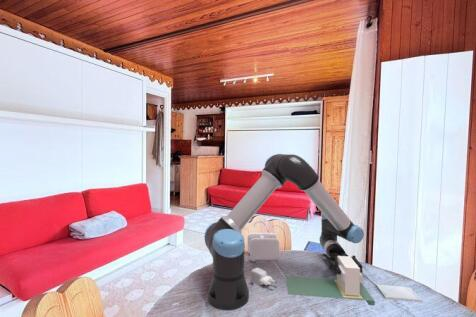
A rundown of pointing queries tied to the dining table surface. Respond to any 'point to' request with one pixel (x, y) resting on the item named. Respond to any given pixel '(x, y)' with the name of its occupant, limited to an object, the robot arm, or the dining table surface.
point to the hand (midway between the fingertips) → (352, 278)
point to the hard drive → (398, 293)
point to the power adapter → (261, 277)
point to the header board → (323, 288)
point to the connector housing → (349, 276)
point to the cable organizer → (263, 246)
